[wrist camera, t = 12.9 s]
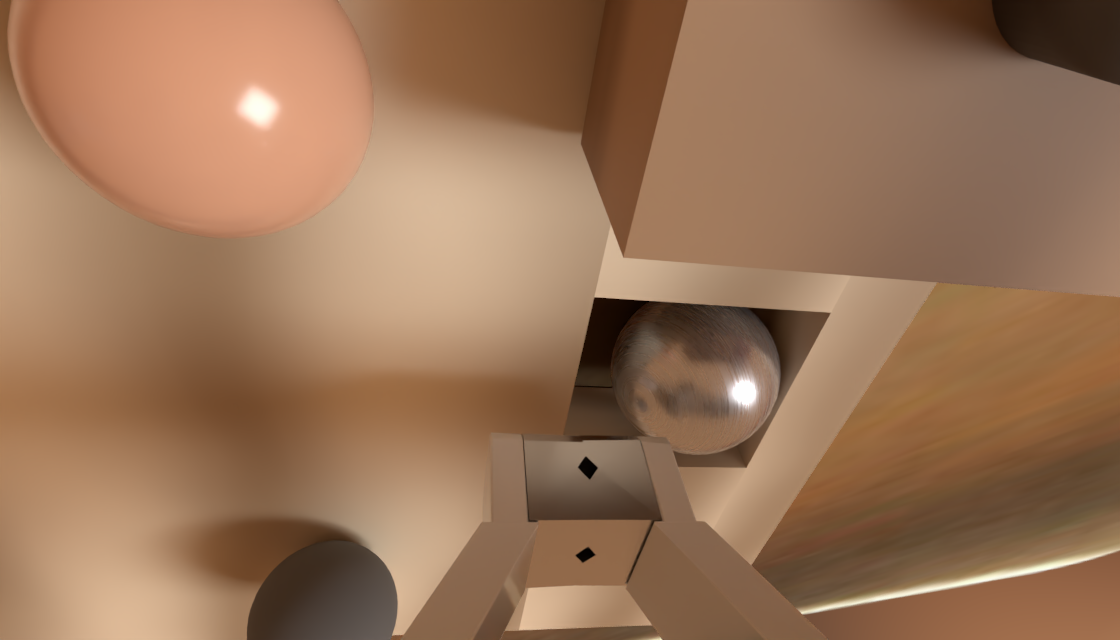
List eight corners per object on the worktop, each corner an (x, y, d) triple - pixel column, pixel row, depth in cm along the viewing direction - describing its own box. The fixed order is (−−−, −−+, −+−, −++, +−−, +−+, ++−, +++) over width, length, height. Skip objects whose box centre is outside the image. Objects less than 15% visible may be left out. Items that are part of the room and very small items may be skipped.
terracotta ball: (161, 159, 7) (9, 284, 5) (80, -127, 6) (-212, -140, 3) (395, 182, 8) (355, 304, 6) (388, -73, 6) (326, -52, 4)
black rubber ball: (282, 584, 14) (240, 726, 12) (262, 513, 12) (207, 663, 10) (406, 581, 14) (389, 716, 12) (404, 513, 13) (384, 655, 10)
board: (49, 559, 16) (-11, 651, 14) (-912, -761, 5) (-1979, -1258, 3) (690, 549, 20) (713, 622, 18) (1090, -216, 8) (1288, -253, 6)
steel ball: (664, 358, 15) (566, 407, 13) (703, 244, 13) (593, 282, 11) (775, 444, 13) (679, 519, 11) (842, 326, 11) (740, 391, 9)
